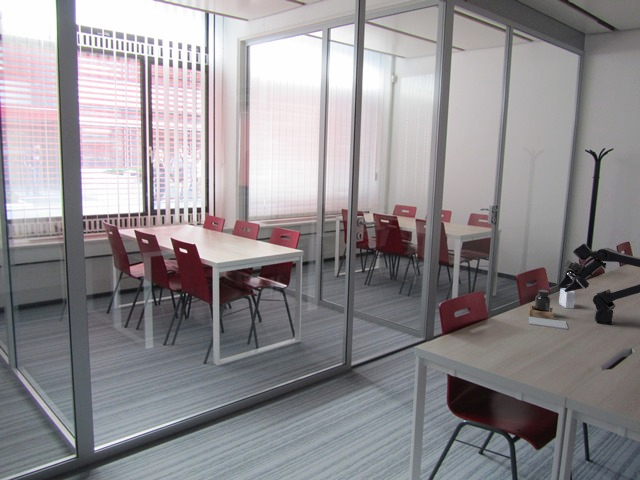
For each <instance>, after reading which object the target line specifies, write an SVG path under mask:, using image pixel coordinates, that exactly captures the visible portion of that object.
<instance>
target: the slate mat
mask: <svg viewBox="0 0 640 480" xmlns="http://www.w3.org/2000/svg"><path fill="white" fill-rule="evenodd" d="M528 324H529V325H532V326H539V327H546V328H555V329H562V330H569V328H568V325H567V321H565V320H557V319H545V318H537V317H530V316H528Z"/></svg>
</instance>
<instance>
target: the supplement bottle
mask: <svg viewBox="0 0 640 480" xmlns="http://www.w3.org/2000/svg"><path fill="white" fill-rule="evenodd" d="M537 291H538V292H537V295H536V296H535V299H534V305H535V308H534V310H535V311H543V312H550V307H551V303H552V302H551V301H552V299H551V297H549V296H550V291H549V290H546V289H538V290H537Z"/></svg>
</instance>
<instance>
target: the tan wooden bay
mask: <svg viewBox="0 0 640 480" xmlns="http://www.w3.org/2000/svg"><path fill="white" fill-rule="evenodd" d="M534 308H535V304H529V306H528V315H529V316H528V317H536V318H544V319H552V320H555V319H554V318H555V317H554V316H555V312H553V307H552V306H550V312H543V311H535V310H534Z"/></svg>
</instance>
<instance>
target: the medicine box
mask: <svg viewBox="0 0 640 480" xmlns="http://www.w3.org/2000/svg"><path fill="white" fill-rule="evenodd" d="M566 288H567V287H564V288H563V287H560V290H559V298H558V304H559V305H561V307H563V308H565V309H574V308H575V300H576V291H575V290H574V291H570V292H565V291H564V290H565V289H566Z"/></svg>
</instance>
